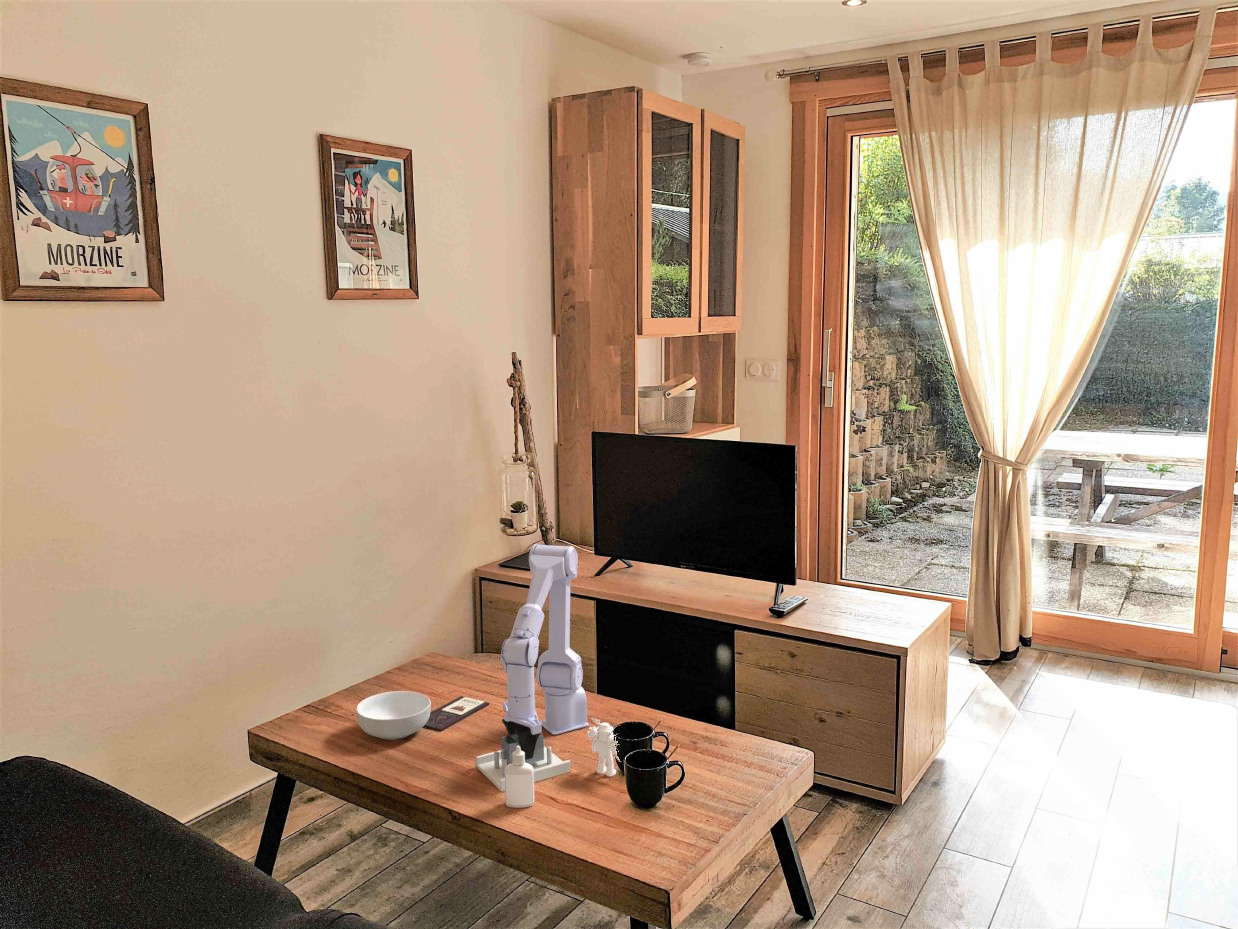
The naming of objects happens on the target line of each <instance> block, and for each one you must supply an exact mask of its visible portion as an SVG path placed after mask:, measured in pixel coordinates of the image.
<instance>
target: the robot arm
mask: <svg viewBox="0 0 1238 929" xmlns="http://www.w3.org/2000/svg"><path fill="white" fill-rule="evenodd" d="M578 557H579V556H578V552H577V551H576V548H575V547H574V546H572V545H568V546H566V545H549V544H548V545H547V544H538V543H535V544H533V546H532V547H531V548H530V551H529V553H528V564H529V569H530V574H531V575H532V576H531V579H530V584H529V589H528V593H527V597H526V603H525V604H524V605H523V606H521V607H519V609H518V611H517V615H516V618H515V619H514V624H513V628H512V629H511V633H510V636H509V637H508V638H505V639H504V640H503V642H502V645H501V653H500V659H501V662H502V664H503V671H504V673H506V688H507V690H506V694H507V696H506V697H507V701H504V702H502V711H503V713H504V712H505V713H506V714H504V715H502V720H501V722H502V724H503V725H504V727H505V729H506V731H507V733H508V735H510V734H514V733H516V734H517V736H518V739H519V742H520V747H521V751H523V752H524V753H525V760H527V759H530V758H533V755H534V750H535V746H536V742H537V740H538V737H539V735H540V734H542V732H543V728H544V729H545V730H546V731H548V732H549V733H550V734H551V735H554V736H555V735H560V734H563V733H567V732H571V731H575V730H578V729H582V728H586V727H589V726H590V725H589V722H588V701H587V700H588V699H587V695H586V692H585V689H584V687H583V686H582V683H583V679H584V678H583V676H584V670H583V667H582V657H581V656H580V655H579V654H578V653H576V651H574V650H573V649H572V648H571V647H570V643H571V642H570V640H571V639H570V638H571V637H570V636H571V586H572V585H571V584H572V580H575V579H577V577H578V563H579V562H578V560H579V558H578ZM548 594H549V596H548ZM547 597H549V598H548V604H549V605H548V609H549V610H548V649H547V650H545V651H543V653H541V655H539V646H540V640H539V636H540V632H541V629H542V626H543V622H544V620H545V614H544V612H543V610H542V609H543V607H544V605H545V602H546V599H547ZM537 659H538V661H537ZM536 662H538V663H537V669H536V674H535V664H536ZM535 680H536V683H537V685H538V686H539V688H541V692H544V715H545V716H544V717H545V718H544V720H540V721H539V717H538V713H537V711H536V697H535V696H536V695H535V693H536V692H535V690H536V689H535Z"/></svg>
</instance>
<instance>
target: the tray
mask: <svg viewBox="0 0 1238 929" xmlns="http://www.w3.org/2000/svg"><path fill="white" fill-rule="evenodd" d="M545 741H546V740H544V760H541V761H538V762H534V763H531V764H530V765H532V766H533V771H534V783H536V782H540V781H543V780H547V779H550V778H553V777H557V776H561V775H564V774H567V773H570V772H572V761H571V760H570V759H568V760H562V759H560V757H558V756H557V755H556V754H555V753H553V752H552V746H547V747H546V746H545V743H546V742H545ZM475 764H476V765H475V766H476V768H477V769H478V771H480V772H481V773H482V775H484V776H485V777H486V778H487V779H488V780H489V781H490V782H491V783H492V784H493V785H494V786H495V787H496V788H497V789H498V790H499V791H500V792H502V793H503V792H505V768H506V766H507V759H502V762H501V749H500V750H496V751H492V752H489V753H488V752H487V753H484V754H481V755H478V756H475Z"/></svg>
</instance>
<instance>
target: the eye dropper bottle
mask: <svg viewBox="0 0 1238 929" xmlns="http://www.w3.org/2000/svg"><path fill="white" fill-rule="evenodd" d="M512 760H513V763H511V764H509V765H507V766H506V768H505V791H504V796H505V798H504V799H505V801H504V802H505V805H506V807H508V808H515V809H520V808H521V809H522V808H529V807H532V806H534V805H535V782H534V771H533V766H532V765H530V764H528V763H525V753H524V752H523V751H521V748H520V746H517V747H516V751H515V752H513V753H512Z"/></svg>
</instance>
